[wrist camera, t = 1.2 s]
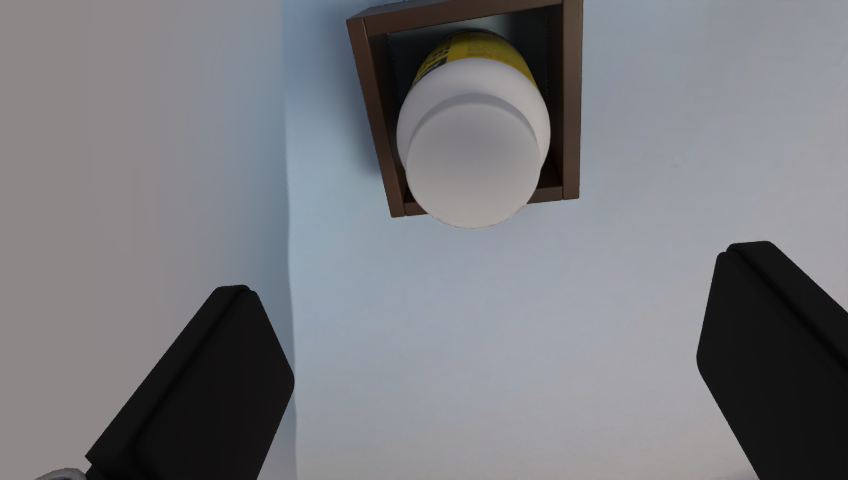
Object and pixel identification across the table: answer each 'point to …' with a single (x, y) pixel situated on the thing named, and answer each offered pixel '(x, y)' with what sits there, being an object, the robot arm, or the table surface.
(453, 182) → the pill bottle
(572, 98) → the holder
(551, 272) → the table surface
